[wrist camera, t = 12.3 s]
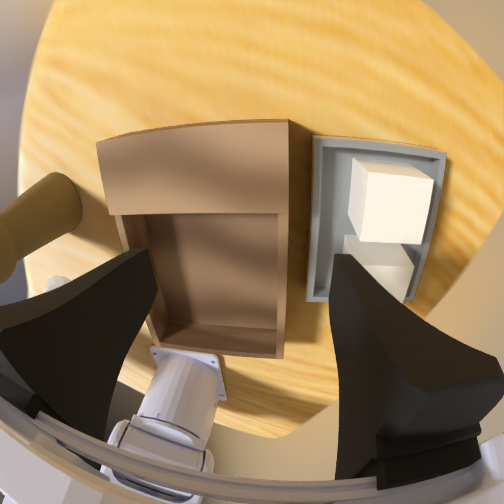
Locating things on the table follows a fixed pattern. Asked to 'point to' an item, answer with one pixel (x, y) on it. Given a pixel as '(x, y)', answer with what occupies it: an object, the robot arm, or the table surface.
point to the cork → (37, 219)
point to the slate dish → (337, 203)
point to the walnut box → (207, 229)
